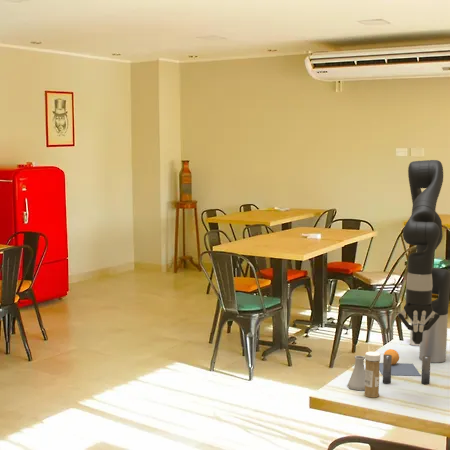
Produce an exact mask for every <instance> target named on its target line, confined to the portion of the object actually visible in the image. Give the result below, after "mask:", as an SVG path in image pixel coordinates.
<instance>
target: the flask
mask: <svg viewBox="0 0 450 450" xmlns="http://www.w3.org/2000/svg"><path fill="white" fill-rule="evenodd" d="M354 359H355V361H354V367H353V370H352V373H351V375H350V377H349V380H348V383H347V384H346V385H347V387H348V389H350V390H354V391H365V363H364V361H365V355H355V356H354Z"/></svg>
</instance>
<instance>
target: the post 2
mask: <svg viewBox="0 0 450 450" xmlns="http://www.w3.org/2000/svg"><path fill="white" fill-rule="evenodd" d="M421 361H422V362H421V384H422V385H425V386H428V385H430V382H431V363H432V362H431V357H430V356H427V355H424V356H422V360H421Z"/></svg>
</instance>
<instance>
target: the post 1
mask: <svg viewBox="0 0 450 450" xmlns="http://www.w3.org/2000/svg"><path fill="white" fill-rule="evenodd" d="M383 356H384V357H383V358H382V359H383V362H382V363H383V375H382V383H383V384H385V385H391V382H392V375H391V363H392V356H391V355H384V354H383Z"/></svg>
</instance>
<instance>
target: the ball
mask: <svg viewBox="0 0 450 450" xmlns="http://www.w3.org/2000/svg"><path fill="white" fill-rule="evenodd" d="M384 355H391V356H392V363H391V365H394V364H396V363H399V360H400V354H399V352H397V350H396V349H391V348H390V349H387V350H385V351H384V353H383V357H384Z"/></svg>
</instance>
